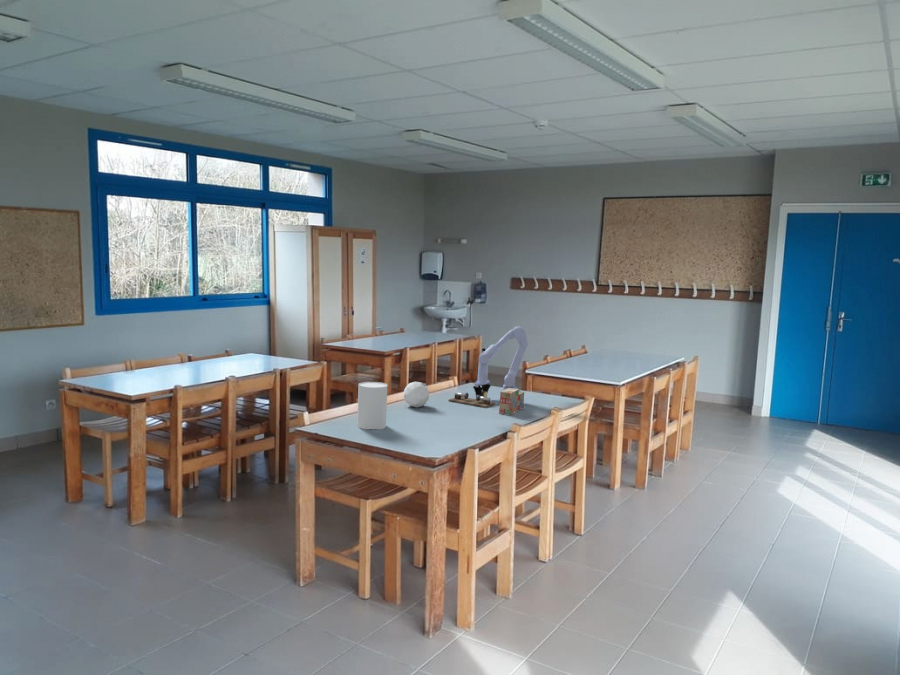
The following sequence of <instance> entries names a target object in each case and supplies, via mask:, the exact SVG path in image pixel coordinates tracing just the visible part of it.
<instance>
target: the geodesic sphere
mask: <svg viewBox="0 0 900 675" xmlns="http://www.w3.org/2000/svg"><path fill="white" fill-rule="evenodd" d="M403 399H404V401H405V403H407V404H408V405H409V406H410V407H413V408H420V407H424V406H425V405H426V404H427V403H428V401H429V399H430V390H429V388H428V386H427V383H425V382H420V381H413V382H409V383H408V384H407V386H405V388H404V389H403Z"/></svg>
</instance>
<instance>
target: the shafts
mask: <svg viewBox="0 0 900 675" xmlns="http://www.w3.org/2000/svg"><path fill="white" fill-rule="evenodd" d="M455 395H458V396H460V397H465V399H468V398H469V393H468V392H465V393H463V392H457V391H456V392H454V396H455ZM475 399H476V400H477V401H479V400H483V401H484V400H486V401H489V402H491V398H490V397H488V396H487V397H481V396H480V395H477V397H476V396H475Z"/></svg>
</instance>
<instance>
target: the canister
mask: <svg viewBox="0 0 900 675" xmlns="http://www.w3.org/2000/svg"><path fill="white" fill-rule="evenodd" d="M357 388H358V390H357V394H358V395H357V415H356V416H357V419H356V420H357V421H356V422H357V423H356V427H357V428H358V427H359V428H358V429H361V428H362V430H366V429H379V430H383V429H385V428H386V427H387V406H388V405H387V403H388V384H387V383H385V382H379V381H364V382H363V381H362V382H359V383H358V386H357Z"/></svg>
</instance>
